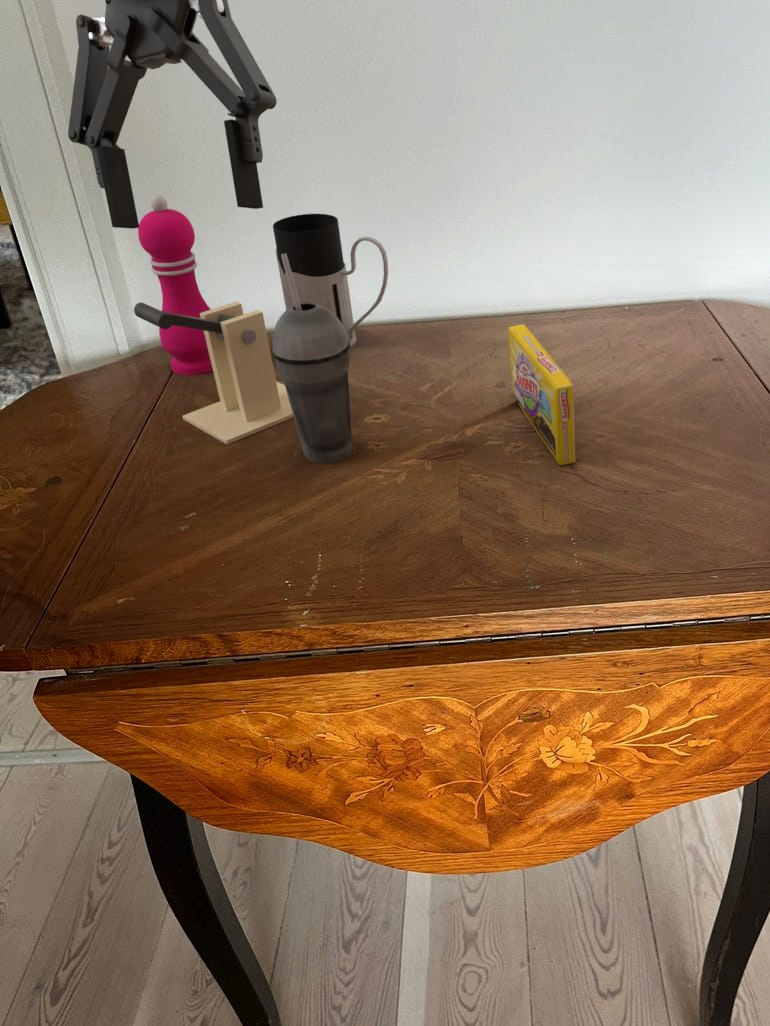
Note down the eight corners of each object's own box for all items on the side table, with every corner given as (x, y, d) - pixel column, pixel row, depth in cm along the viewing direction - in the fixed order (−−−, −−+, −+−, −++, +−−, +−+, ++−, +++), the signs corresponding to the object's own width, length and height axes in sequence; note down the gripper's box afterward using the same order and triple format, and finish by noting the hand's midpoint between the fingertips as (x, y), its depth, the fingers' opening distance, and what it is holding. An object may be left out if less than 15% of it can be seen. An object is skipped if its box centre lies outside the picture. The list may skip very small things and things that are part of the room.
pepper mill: (239, 372, 114) (200, 194, 102) (182, 389, 111) (134, 207, 99) (216, 354, 119) (176, 182, 107) (161, 370, 116) (113, 195, 104)
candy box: (510, 399, 104) (507, 325, 99) (528, 396, 105) (527, 322, 100) (555, 467, 92) (555, 386, 87) (576, 463, 92) (577, 382, 87)
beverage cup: (346, 481, 92) (312, 270, 79) (280, 472, 94) (237, 265, 82) (377, 447, 97) (351, 244, 85) (315, 439, 99) (279, 240, 87)
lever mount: (228, 452, 98) (201, 340, 91) (184, 426, 103) (156, 319, 96) (322, 413, 104) (304, 305, 97) (276, 391, 110) (256, 287, 102)
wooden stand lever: (157, 333, 89) (160, 307, 89) (132, 321, 92) (135, 296, 92) (257, 349, 98) (261, 325, 97) (231, 337, 101) (235, 314, 100)
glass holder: (310, 333, 123) (290, 210, 114) (411, 342, 119) (398, 215, 110) (277, 359, 117) (252, 231, 108) (382, 369, 113) (366, 237, 103)
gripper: (-14, -44, 78) (47, 233, 85) (235, -125, 69) (282, 194, 76) (55, -20, 85) (106, 236, 92) (291, -90, 75) (330, 201, 82)
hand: (186, 218), depth 84 cm, fingers open, 13 cm apart
